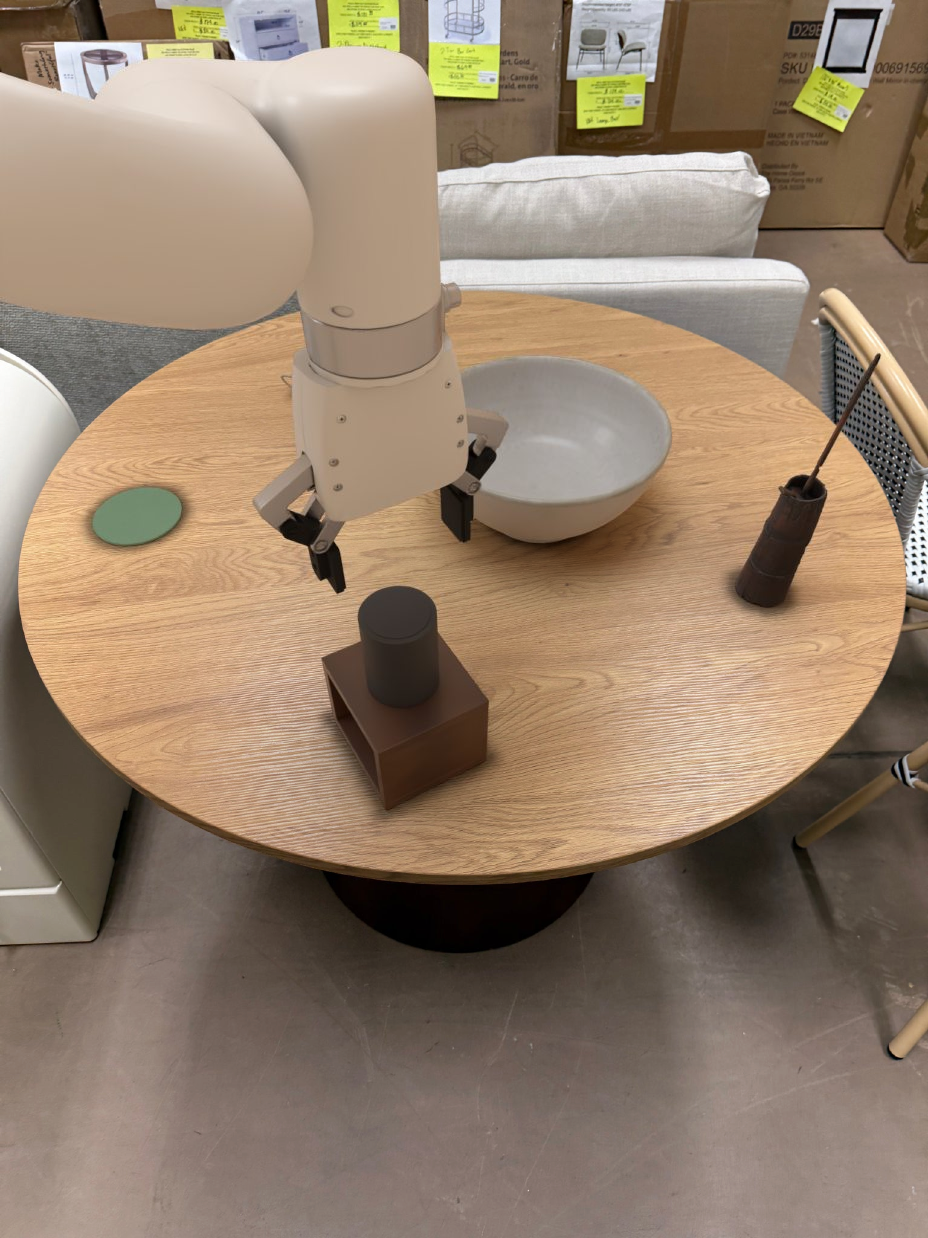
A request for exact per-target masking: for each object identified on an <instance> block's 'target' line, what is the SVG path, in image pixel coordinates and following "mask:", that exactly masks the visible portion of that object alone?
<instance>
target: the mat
mask: <svg viewBox="0 0 928 1238" xmlns="http://www.w3.org/2000/svg"><path fill="white" fill-rule="evenodd" d="M182 515H183V505H182V503H181V500H180V498H178V497H177V495H176V494H174V493H173V492H172V491H169V490H166V489H164V488H159V487H151V486H150V487H149V486H146V487H136V488H131V489H128V490H125V491H122V492H119V493H117V494H115V495H113V496H112V497H110V498H109V499H106V500H105V501H104V502H102V504H101V505H100V506H98V508H97V509H96V511H95V513H94V515H93V517H92V523H91V524H92V529H93V532H94V533H95V535H96V536H97V537H98V538H99V539H100V540H102V541H104V542H105V543H108V544H109V545H114V546H120V547H133V546H139V545H143V544H148V543H151V542H153V541H157V540H158V539H160V538H162V537H163V536H165V535H167V534H168V533H169V532H171V531H172V530H173V529H175V527H176V526H177V525H178V523H179V522H180V520H181V518H182Z"/></svg>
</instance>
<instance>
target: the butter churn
mask: <svg viewBox="0 0 928 1238" xmlns="http://www.w3.org/2000/svg"><path fill="white" fill-rule="evenodd" d="M881 357H882V354H881V353H880V352H877V353H876V354H875V356H874V358H873V359H872V361H871V362H870V363H869V365H868V367H867V369H866V370H865V372H864V373H863V375H862V377H861V379H860V380H859V381H858V384H857V386H856V387H855V390H854V392H853V394H852V395H851V398H850V399H849V401H848V403H847V405H846V407H845V409H844V411H843V413H842V415H841V417H840V419H839V421H838V422H837V425H836V427H835V428H834V431H833V432H832V434H831V435H830V438H829V439H828V441H827V443H826V445H825V447H824V449H823V451H822V453H821V455H820V457H818V460H817V463H816V465H815V466H814V469H813V470H812V471H811V474H810V475H809V474H805V473H801V474H797V475H794V476H792V477H790V478H789V480H787V482H786V484H785V485H784V486H783V485H780V486H778V487H777V489H778V491H779V492H780V493H779V497H778V499H777V501H776V502H775V504H774V506H773V507H772V509H771V512H770V514H769V516H768V517H767V518H766V520H765V521H764V524H763V528H762V530H761V532H760V534H759V536H758V538H757V541H756V542H755V544H754V546H753V548H752V549H751V550H750V552H749V556H748V557H747V559H746V561H745V563H744V565H743V567H742V569H741V570H740V573H739V574H738V576H737V577H736V578H735V583H734V584H735V590H736V593H737V594H738V596H739V598H743V599H745V600H746V601H748V602H750V603H752V604H756V605H758V606H760V607H763V608H774V607H777V606H779V605H781V604H782V603H783V602H784V601H785V598H786V596H787V595H788V592H789V590H790V588H791V585H792V583H793V580H794V578H795V575H796V573H797V572H798V568H799V566H800V565H801V561H802V559H803V556H804V555H805V553H806V548H807V547H808V546H809V544H810V543H811V541H812V539H813V537H814V533H815V530H816V528H817V526H818V523H819V521H820V518H821V514H822V513H823V509H824V507H825V503H826V501H827V498H828V489H827V488H826V484H825V483H823V482H822V480H820V479H819V477H817V476H818V475H819V474H820V471H821V469H820V468H821V467H823V466H824V464H825V462H826V460H827V458H828V456H829V455H830V452H831V451H832V449H833V447H834V445H835V444H836V441H837V439H838V438H839V435H840V434H841V432H842V430H843V428H844V426H845V425H846V422H847V421H848V419H849V417H850V416H851V414H852V412H853V410H854V408H855V406H856V404H857V402H858V400H859V399H860V397H861V396H862V394H863V392H864V390H865V388H866V386H867V384H868V383H869V381H870V379H871V377H872V375H873V373H874V372H875V369H876V367H877V366H878V364H879V363H880V361H881Z"/></svg>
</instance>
